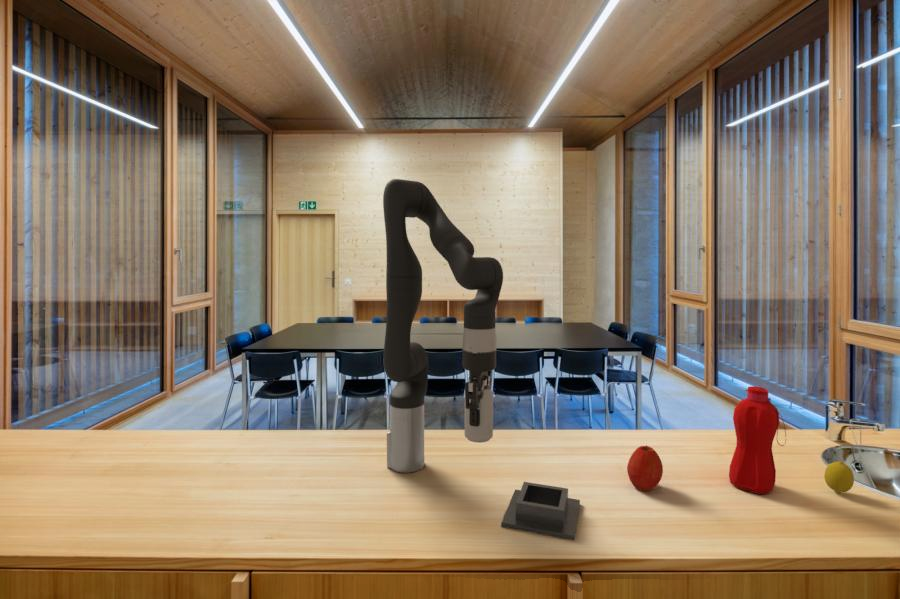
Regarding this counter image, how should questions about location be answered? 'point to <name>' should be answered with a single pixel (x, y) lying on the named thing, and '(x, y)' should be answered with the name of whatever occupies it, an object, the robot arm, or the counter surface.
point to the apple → (645, 468)
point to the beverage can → (481, 419)
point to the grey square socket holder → (542, 511)
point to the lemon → (839, 477)
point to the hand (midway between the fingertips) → (478, 420)
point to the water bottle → (754, 442)
